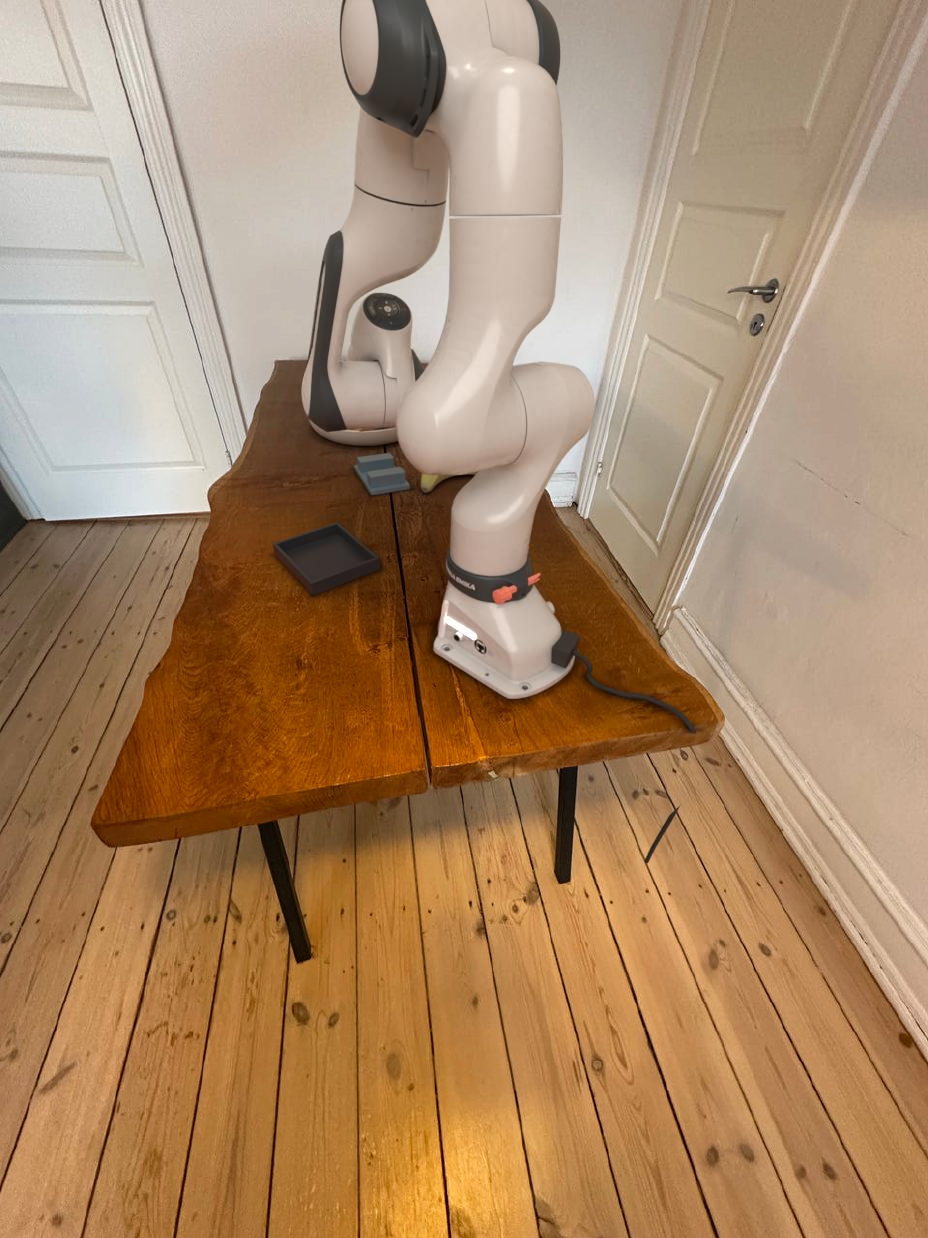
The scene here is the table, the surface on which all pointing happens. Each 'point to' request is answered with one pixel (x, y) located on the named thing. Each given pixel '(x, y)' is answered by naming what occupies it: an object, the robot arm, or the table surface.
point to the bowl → (360, 436)
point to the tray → (326, 557)
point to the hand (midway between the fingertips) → (361, 408)
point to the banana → (434, 481)
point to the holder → (381, 474)
